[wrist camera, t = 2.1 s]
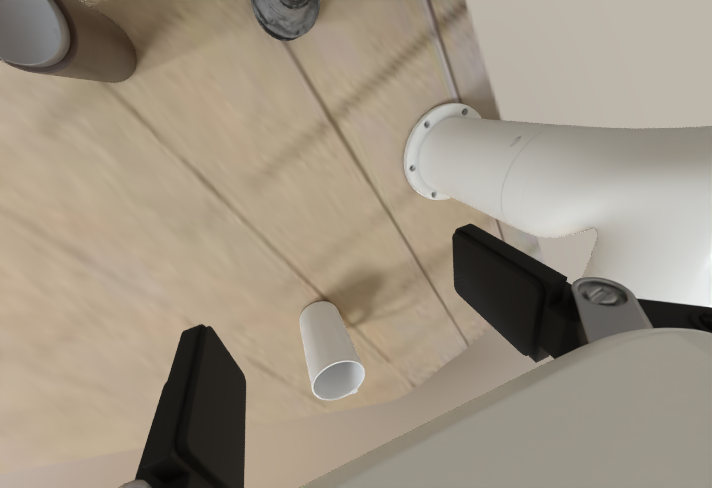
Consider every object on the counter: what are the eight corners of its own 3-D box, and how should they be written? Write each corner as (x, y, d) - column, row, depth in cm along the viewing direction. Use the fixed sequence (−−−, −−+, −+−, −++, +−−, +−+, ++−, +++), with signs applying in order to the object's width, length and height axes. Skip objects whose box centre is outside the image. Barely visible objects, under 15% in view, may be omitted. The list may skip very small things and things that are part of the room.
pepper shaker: (111, 4, 23) (16, -61, 14) (149, 74, 25) (91, 59, 16) (44, 19, 22) (-106, -41, 13) (90, 89, 25) (-7, 82, 15)
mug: (288, 315, 42) (301, 383, 32) (326, 291, 42) (350, 351, 32) (321, 350, 48) (340, 418, 37) (354, 329, 48) (382, 390, 38)
